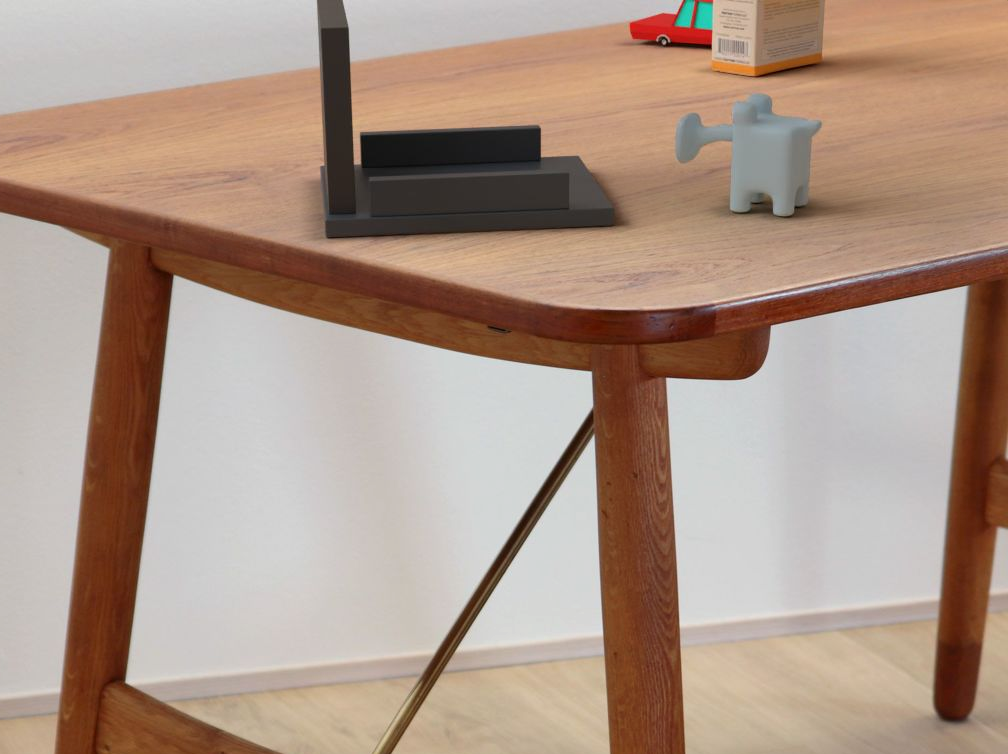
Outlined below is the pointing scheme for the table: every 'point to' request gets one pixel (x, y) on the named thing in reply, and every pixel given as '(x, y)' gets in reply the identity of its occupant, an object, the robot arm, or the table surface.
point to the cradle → (439, 168)
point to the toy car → (678, 24)
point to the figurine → (757, 153)
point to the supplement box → (766, 35)
